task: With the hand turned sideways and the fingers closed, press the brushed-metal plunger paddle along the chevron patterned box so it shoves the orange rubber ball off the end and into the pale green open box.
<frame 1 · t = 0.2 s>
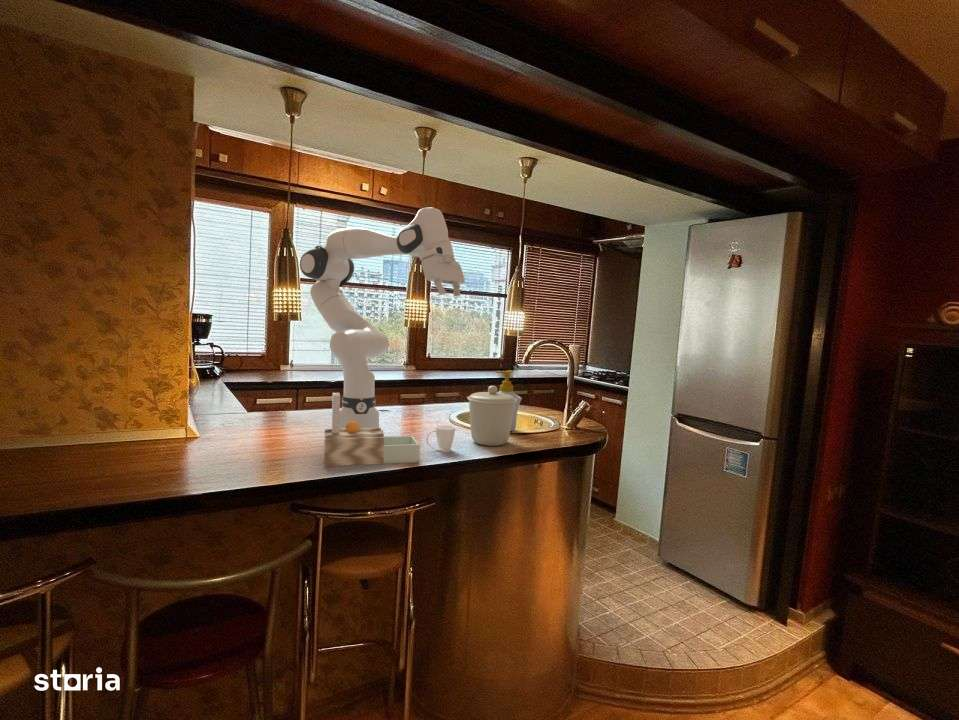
hand: (450, 295, 162), 52 cm above the countertop, tool tilted 20°, fingers open, 8 cm apart
cup: (440, 451, 166), on the countertop
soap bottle: (504, 430, 201), on the countertop
ball: (352, 427, 150), point 10 cm above the countertop, touching chevron patterned box
canister: (489, 443, 180), on the countertop
pale green open box: (398, 457, 156), on the countertop
chevron patterned box: (361, 459, 152), on the countertop
plunger paddle: (335, 413, 148), point 14 cm above the countertop, slide at 0.0 cm
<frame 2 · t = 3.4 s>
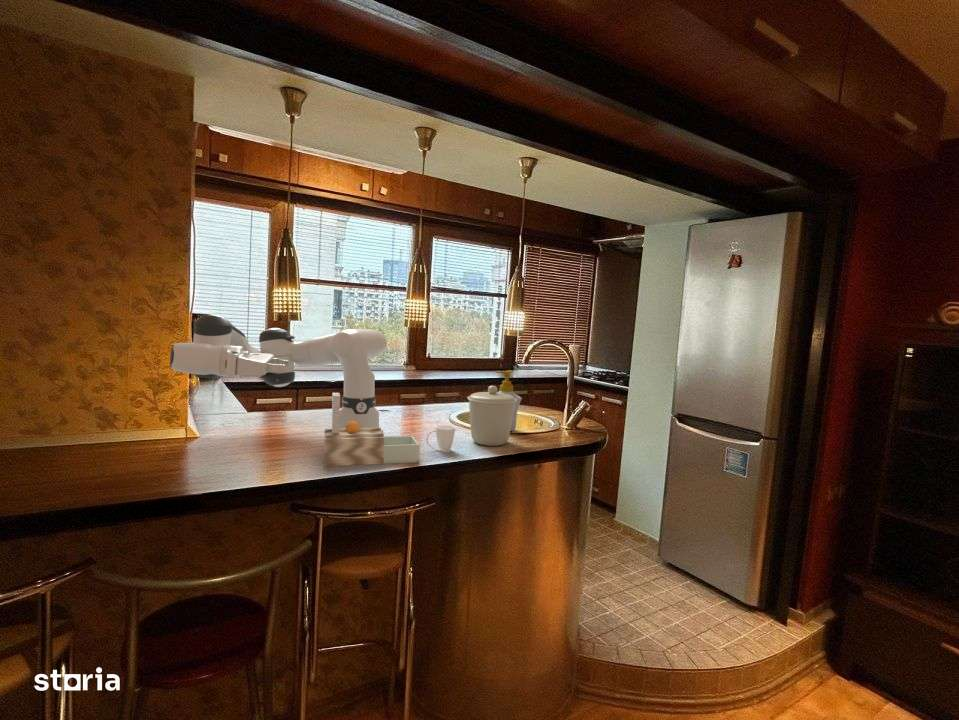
hand: (287, 365, 143), 29 cm above the countertop, tool horizontal, fingers open, 8 cm apart
nothing on the countertop moved.
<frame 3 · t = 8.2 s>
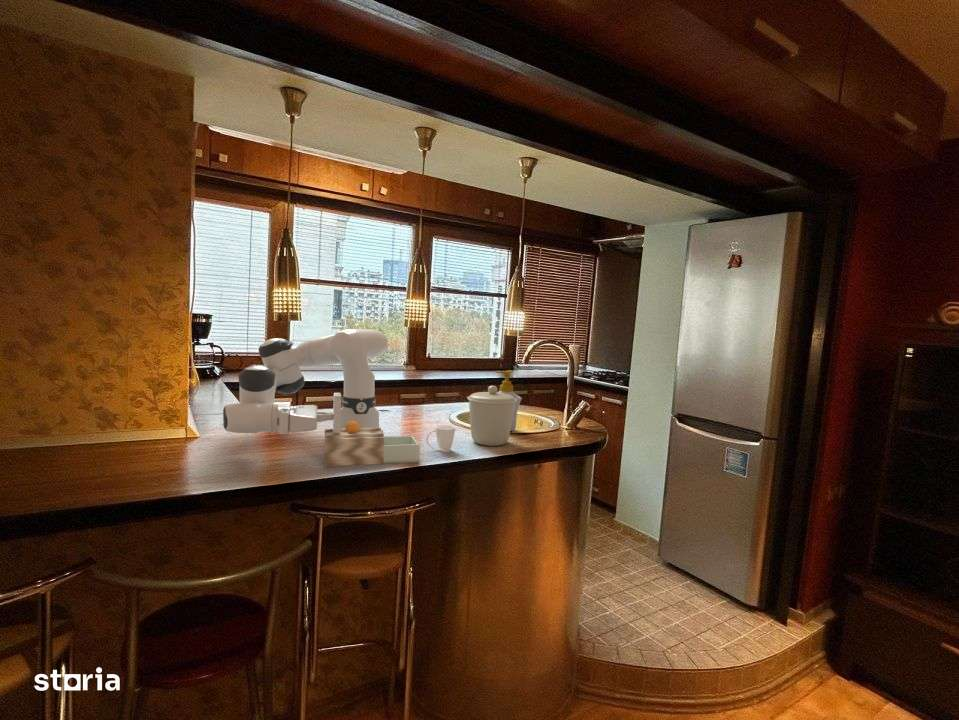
hand: (333, 416, 148), 14 cm above the countertop, tool horizontal, fingers closed, pressing on plunger paddle
plunger paddle: (336, 413, 148), point 14 cm above the countertop, slide at 0.3 cm, touching gripper
everything else where it was.
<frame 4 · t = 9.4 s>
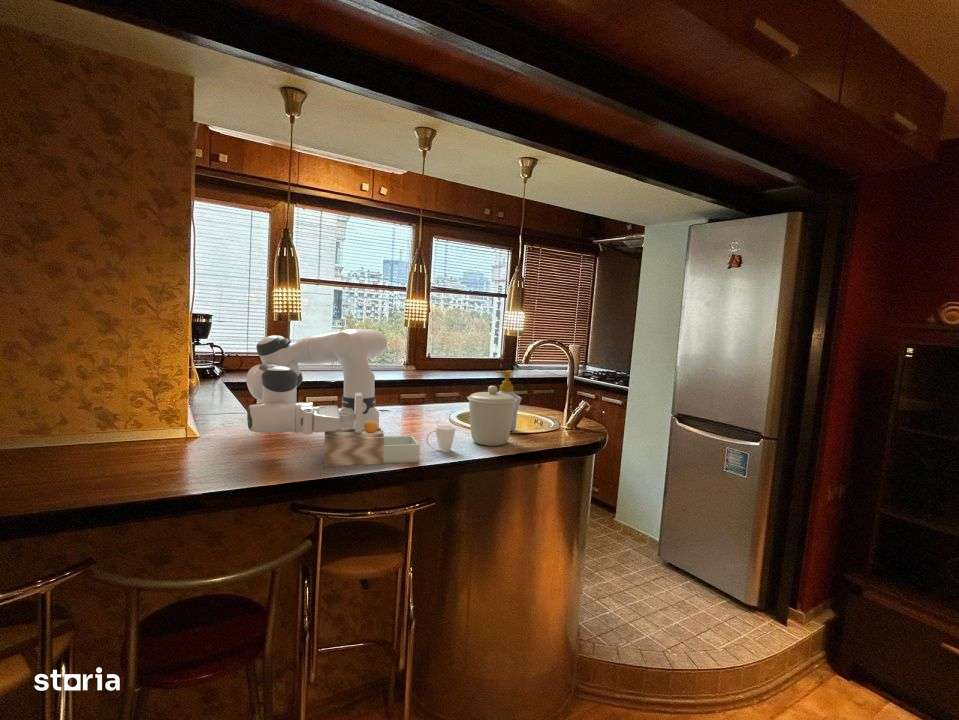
hand: (354, 416, 150), 13 cm above the countertop, tool horizontal, fingers closed, pressing on plunger paddle
ball: (370, 427, 152), point 10 cm above the countertop, tilted 157°, touching chevron patterned box
plunger paddle: (358, 413, 150), point 14 cm above the countertop, slide at 6.6 cm, touching gripper
everything else where it was.
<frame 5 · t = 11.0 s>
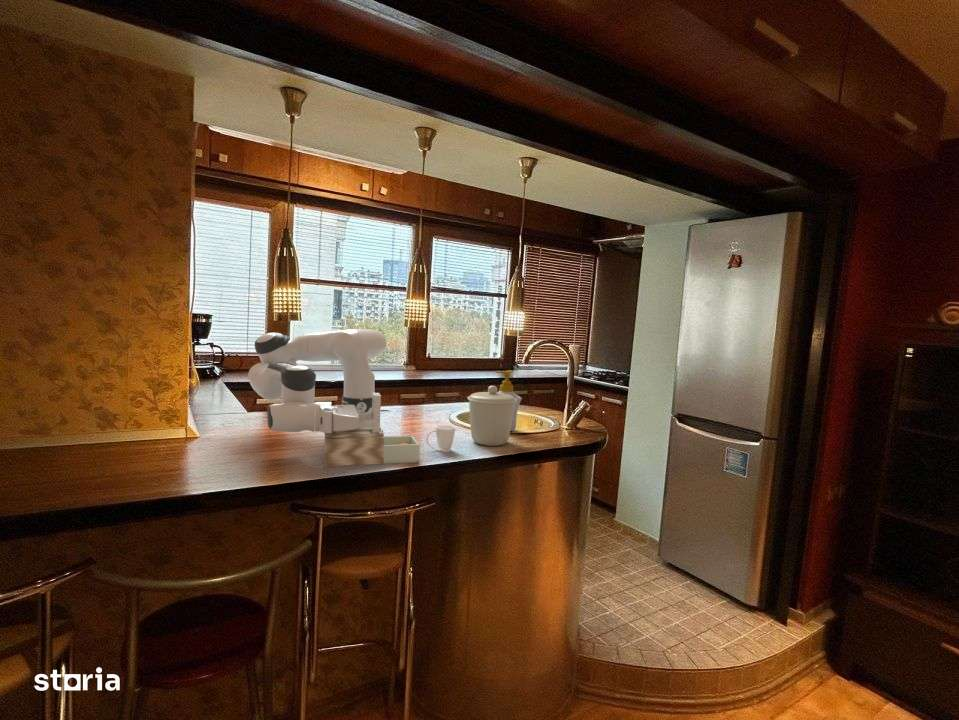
hand: (372, 415, 152), 14 cm above the countertop, tool horizontal, fingers closed, pressing on plunger paddle
ball: (403, 449, 156), point 3 cm above the countertop, tilted 139°, touching pale green open box
plunger paddle: (375, 413, 152), point 14 cm above the countertop, slide at 11.9 cm, touching gripper
everything else where it was.
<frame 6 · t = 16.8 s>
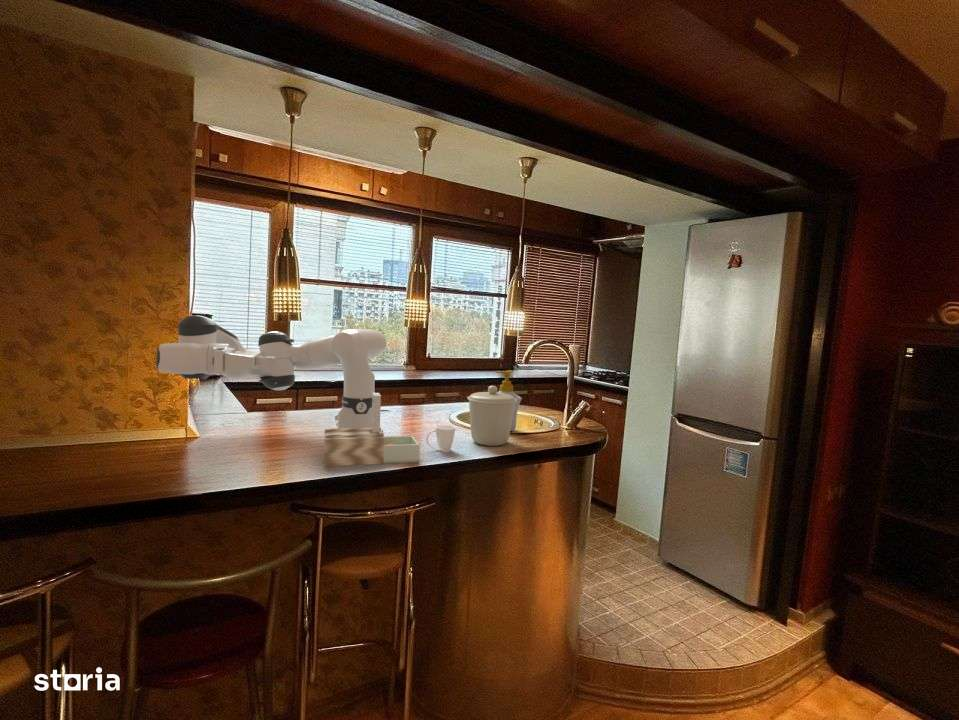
hand: (274, 360, 143), 30 cm above the countertop, tool horizontal, fingers closed
ball: (390, 449, 155), point 3 cm above the countertop, tilted 15°, touching pale green open box
plunger paddle: (375, 413, 152), point 14 cm above the countertop, slide at 11.9 cm
everything else where it was.
at the end: ball 2.7 cm from the pale green open box (horizontally); ball point 2.6 cm above the countertop; plunger paddle slide at 11.9 cm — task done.
